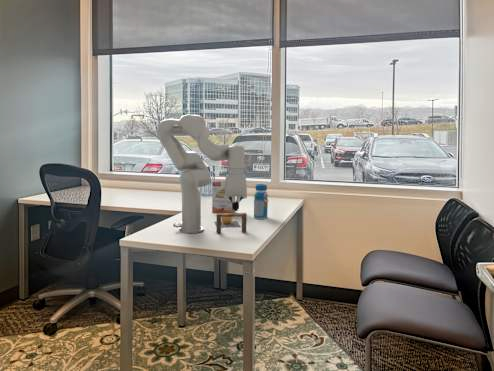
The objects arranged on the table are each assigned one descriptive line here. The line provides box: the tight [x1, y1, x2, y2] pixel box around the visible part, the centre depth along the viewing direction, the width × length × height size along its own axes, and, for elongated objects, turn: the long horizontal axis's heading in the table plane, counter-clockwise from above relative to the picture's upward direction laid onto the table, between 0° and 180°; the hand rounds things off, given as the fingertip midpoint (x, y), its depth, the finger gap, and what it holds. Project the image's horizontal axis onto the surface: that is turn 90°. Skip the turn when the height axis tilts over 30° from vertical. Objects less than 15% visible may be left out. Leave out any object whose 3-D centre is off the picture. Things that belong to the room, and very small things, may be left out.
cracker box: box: [211, 178, 237, 214], centre depth 245 cm, size 14×6×21 cm, turn 80°
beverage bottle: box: [253, 183, 269, 220], centre depth 231 cm, size 8×8×20 cm
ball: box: [221, 217, 233, 224], centre depth 216 cm, size 6×6×6 cm
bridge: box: [215, 212, 248, 234], centre depth 197 cm, size 15×3×10 cm, turn 100°
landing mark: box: [214, 220, 242, 229], centre depth 215 cm, size 13×13×1 cm
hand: (235, 210), depth 183 cm, fingers closed
